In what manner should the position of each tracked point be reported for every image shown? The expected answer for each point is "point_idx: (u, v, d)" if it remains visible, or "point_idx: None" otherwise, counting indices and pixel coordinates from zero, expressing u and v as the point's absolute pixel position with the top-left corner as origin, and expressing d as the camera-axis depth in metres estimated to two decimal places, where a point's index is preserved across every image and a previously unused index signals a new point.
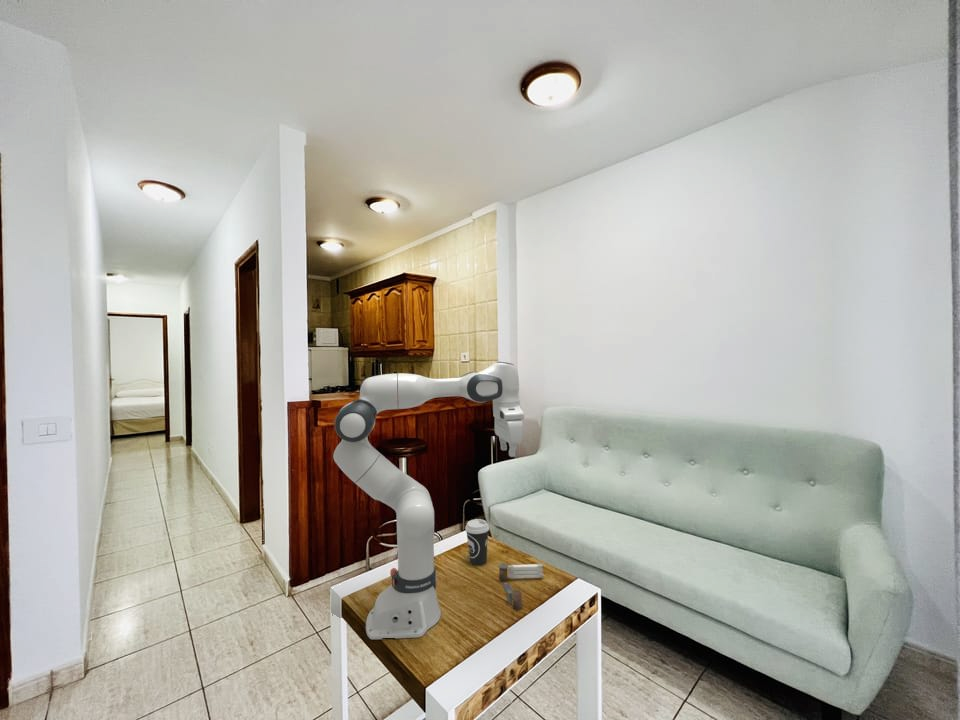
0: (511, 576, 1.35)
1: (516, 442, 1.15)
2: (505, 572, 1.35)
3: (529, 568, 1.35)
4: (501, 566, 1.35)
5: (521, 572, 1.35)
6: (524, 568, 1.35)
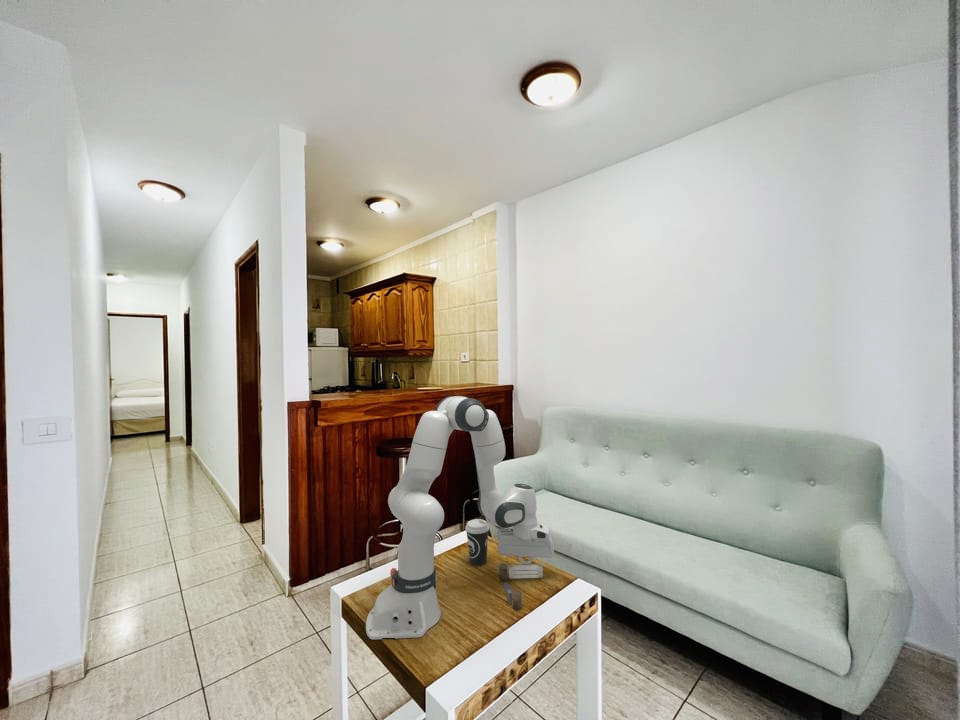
0: (511, 576, 1.35)
1: None
2: (505, 572, 1.35)
3: (529, 568, 1.35)
4: (501, 566, 1.35)
5: (521, 572, 1.35)
6: (524, 568, 1.35)
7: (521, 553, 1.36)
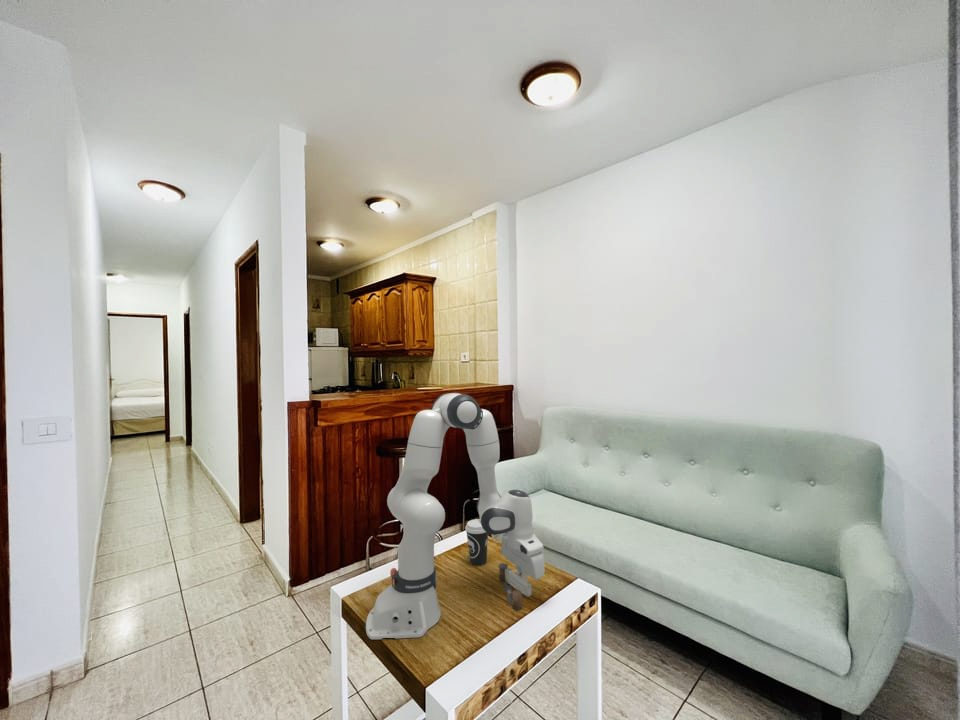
0: (506, 579, 1.33)
1: (540, 576, 1.21)
2: None
3: (518, 580, 1.28)
4: (501, 566, 1.35)
5: (512, 580, 1.30)
6: (515, 578, 1.29)
7: (514, 561, 1.30)
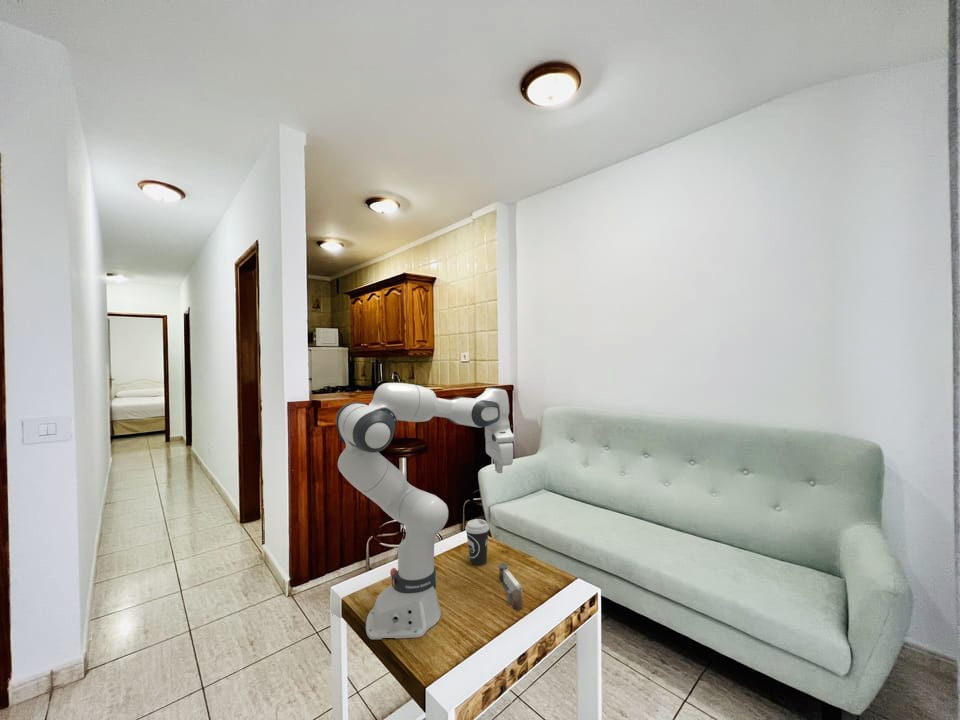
0: (504, 580, 1.33)
1: (507, 463, 1.25)
2: None
3: (511, 582, 1.27)
4: (501, 566, 1.35)
5: (508, 581, 1.29)
6: (509, 579, 1.28)
7: (492, 455, 1.35)
